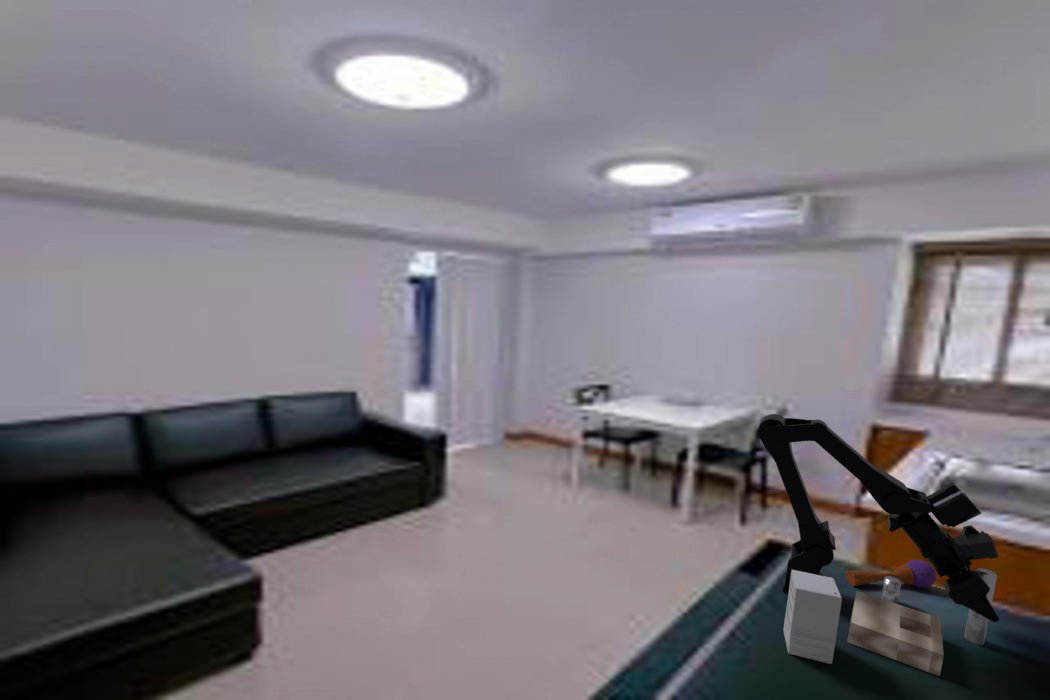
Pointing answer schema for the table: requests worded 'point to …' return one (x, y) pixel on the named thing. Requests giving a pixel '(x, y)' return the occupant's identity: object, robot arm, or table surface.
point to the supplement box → (812, 616)
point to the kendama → (897, 575)
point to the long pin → (976, 621)
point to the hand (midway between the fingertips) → (989, 608)
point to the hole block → (897, 632)
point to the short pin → (891, 589)
